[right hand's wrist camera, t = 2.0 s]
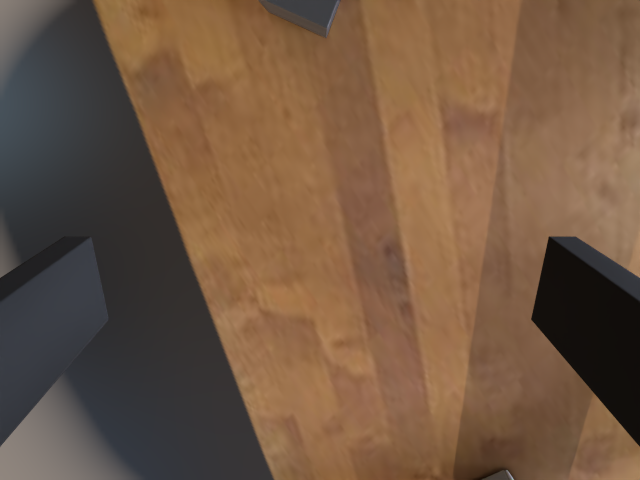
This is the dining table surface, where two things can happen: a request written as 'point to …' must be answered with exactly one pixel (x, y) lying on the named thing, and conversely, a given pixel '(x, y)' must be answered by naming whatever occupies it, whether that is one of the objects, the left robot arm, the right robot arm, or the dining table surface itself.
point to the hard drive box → (500, 476)
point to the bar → (305, 13)
